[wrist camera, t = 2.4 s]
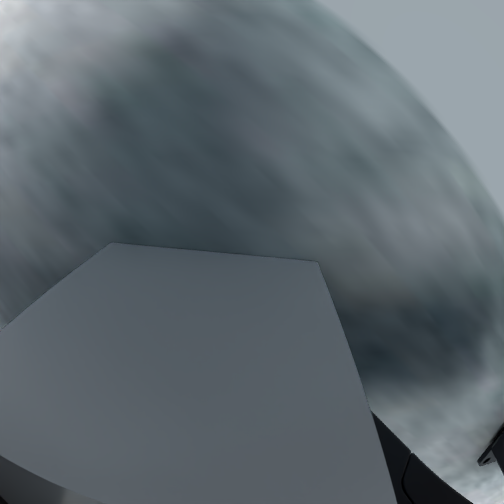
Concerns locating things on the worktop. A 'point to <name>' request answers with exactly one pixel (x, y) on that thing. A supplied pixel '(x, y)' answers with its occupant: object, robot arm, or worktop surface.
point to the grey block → (185, 387)
